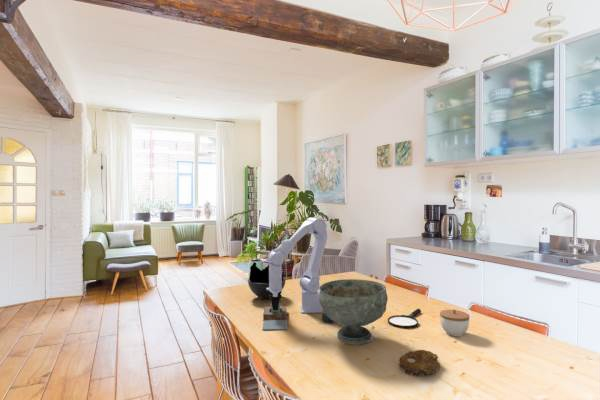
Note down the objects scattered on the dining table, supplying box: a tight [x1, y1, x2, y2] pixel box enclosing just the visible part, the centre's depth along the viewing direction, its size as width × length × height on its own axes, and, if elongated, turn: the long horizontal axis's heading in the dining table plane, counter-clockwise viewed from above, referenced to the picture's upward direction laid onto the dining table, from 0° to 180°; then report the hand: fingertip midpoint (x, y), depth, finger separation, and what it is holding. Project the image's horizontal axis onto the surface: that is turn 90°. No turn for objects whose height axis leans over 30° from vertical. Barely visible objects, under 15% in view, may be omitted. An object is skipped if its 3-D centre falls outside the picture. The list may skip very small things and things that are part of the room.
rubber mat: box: [262, 319, 288, 331], centre depth 149 cm, size 10×10×1 cm
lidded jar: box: [439, 309, 470, 337], centre depth 140 cm, size 11×11×9 cm
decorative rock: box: [398, 349, 441, 377], centre depth 113 cm, size 11×4×15 cm
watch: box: [321, 312, 335, 324], centre depth 154 cm, size 6×8×11 cm
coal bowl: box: [247, 261, 287, 299], centre depth 189 cm, size 20×20×19 cm
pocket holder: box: [262, 306, 288, 321], centre depth 161 cm, size 10×10×2 cm
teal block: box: [270, 300, 281, 312], centre depth 161 cm, size 4×4×9 cm
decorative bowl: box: [318, 278, 389, 345], centre depth 136 cm, size 26×26×20 cm
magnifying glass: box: [387, 308, 422, 329], centre depth 156 cm, size 12×24×2 cm, turn 140°
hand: (275, 308), depth 161 cm, fingers closed on teal block, 4 cm apart
